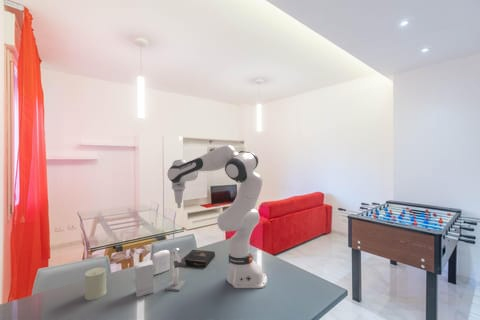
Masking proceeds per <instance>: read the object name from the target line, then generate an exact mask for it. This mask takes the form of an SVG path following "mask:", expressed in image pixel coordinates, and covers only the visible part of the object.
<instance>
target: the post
mask: <svg viewBox="0 0 480 320" xmlns="http://www.w3.org/2000/svg"><path fill="white" fill-rule="evenodd" d="M173 261H176V257H175V254H172V279H171V280H170V281H169V283H168V284H166V285H165V287H164V291H165V290H166V291H173V292H180V291H181V290H182V288H183V287H184V286H185V285H186V283H187V281H186V280H181V279H180V280H179V277H180V275H179V274H180V273H179V268H180V267H178V268H175V267H174V262H173Z"/></svg>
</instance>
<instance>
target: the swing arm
mask: <svg viewBox="0 0 480 320" xmlns="http://www.w3.org/2000/svg"><path fill="white" fill-rule="evenodd" d="M179 253H180V247H178V246H175V247H172V248H171V254H172V255H173V254H175V257H176V261H173V260H172V263H173V262H174V267H175V268H178V267H179V268H183V267H187V266H186V262H185V260H184V259H183V258H182V259H183V260H182V259H181V257H180V254H179Z"/></svg>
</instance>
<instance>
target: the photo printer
mask: <svg viewBox="0 0 480 320" xmlns="http://www.w3.org/2000/svg"><path fill="white" fill-rule="evenodd" d="M170 259H171V253H170V251H169V250H167V249H164V250H160V251H159V250H158V251H157V252H155V253H153V254H152V258H151V260H152V263H153V276H156V275H159V274H161V273H165V272H167V271H169V270H170V268H171V267H170V266H171V265H170V263H171V261H170Z"/></svg>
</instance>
